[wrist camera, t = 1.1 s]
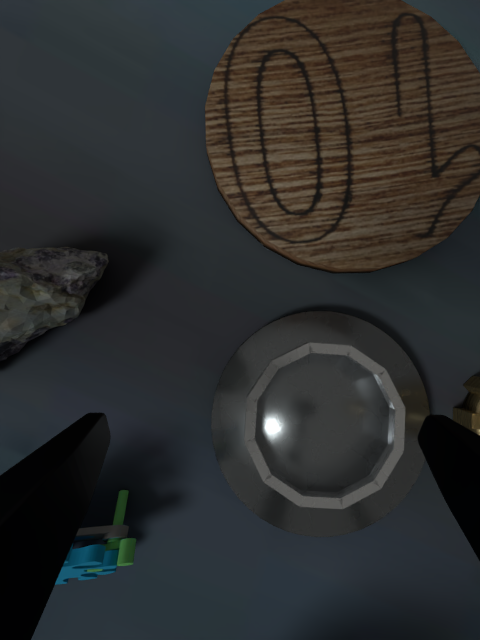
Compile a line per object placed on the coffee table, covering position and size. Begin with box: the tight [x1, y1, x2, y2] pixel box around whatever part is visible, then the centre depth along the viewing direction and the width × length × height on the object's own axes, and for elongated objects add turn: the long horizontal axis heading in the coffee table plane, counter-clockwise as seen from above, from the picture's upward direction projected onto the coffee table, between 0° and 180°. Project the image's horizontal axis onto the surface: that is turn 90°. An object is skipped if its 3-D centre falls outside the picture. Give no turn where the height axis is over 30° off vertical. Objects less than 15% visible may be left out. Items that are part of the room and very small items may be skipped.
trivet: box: [205, 0, 480, 273], centre depth 24 cm, size 25×25×2 cm
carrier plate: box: [211, 311, 430, 537], centre depth 22 cm, size 18×18×2 cm
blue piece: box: [55, 490, 136, 584], centre depth 19 cm, size 11×6×10 cm
